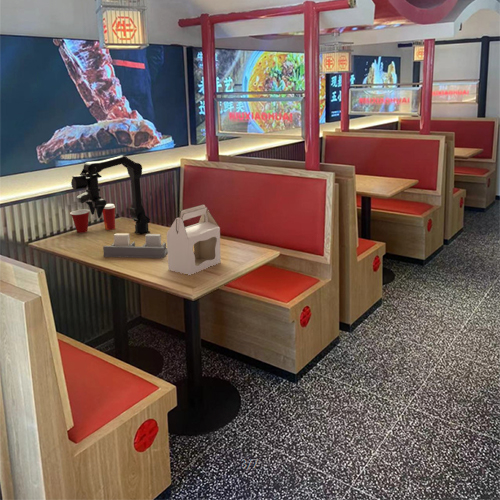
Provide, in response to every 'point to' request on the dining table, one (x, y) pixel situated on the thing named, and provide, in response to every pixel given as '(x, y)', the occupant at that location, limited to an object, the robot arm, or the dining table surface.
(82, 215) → the plastic cup
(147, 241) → the white box
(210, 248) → the gable box
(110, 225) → the paper cup
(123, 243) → the cream block
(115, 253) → the grey compartment tray
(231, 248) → the dining table surface
